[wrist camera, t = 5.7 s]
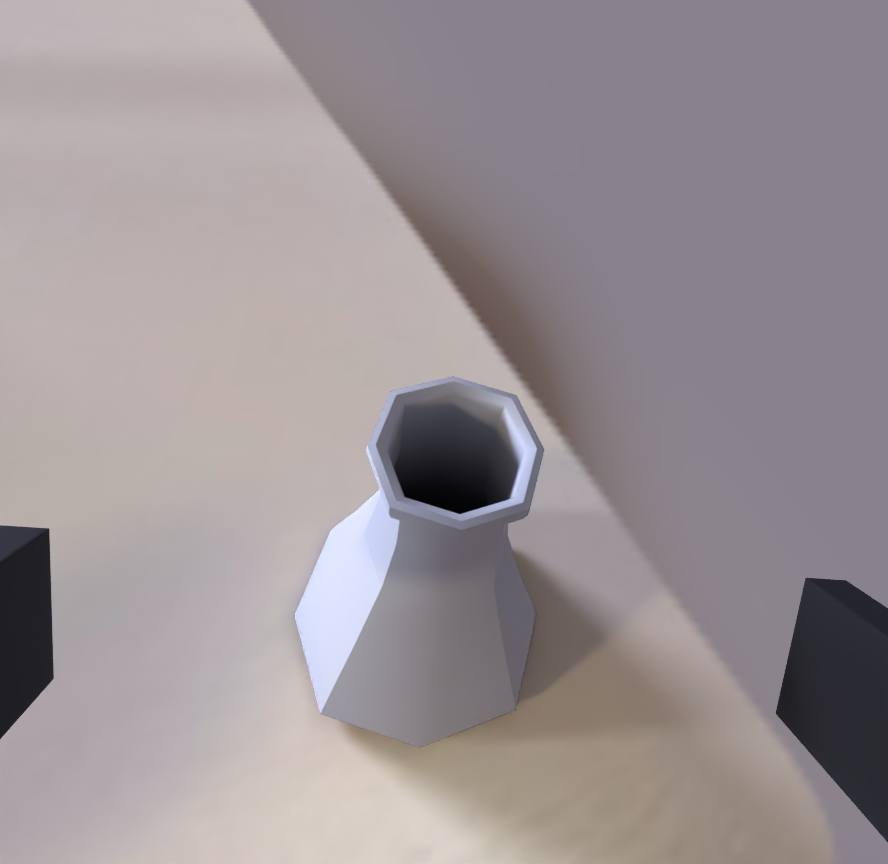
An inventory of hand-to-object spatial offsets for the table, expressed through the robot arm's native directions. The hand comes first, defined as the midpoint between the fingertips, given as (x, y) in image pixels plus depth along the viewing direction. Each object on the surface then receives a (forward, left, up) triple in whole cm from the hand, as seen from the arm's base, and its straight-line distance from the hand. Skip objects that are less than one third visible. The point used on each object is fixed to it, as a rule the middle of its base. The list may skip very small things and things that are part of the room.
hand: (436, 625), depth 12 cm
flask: (+1, -3, -9) cm, 9 cm away
